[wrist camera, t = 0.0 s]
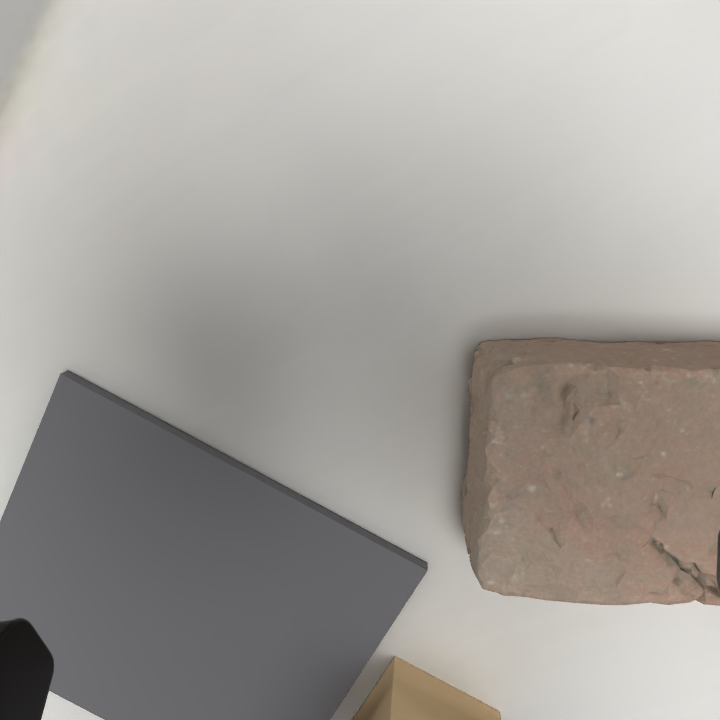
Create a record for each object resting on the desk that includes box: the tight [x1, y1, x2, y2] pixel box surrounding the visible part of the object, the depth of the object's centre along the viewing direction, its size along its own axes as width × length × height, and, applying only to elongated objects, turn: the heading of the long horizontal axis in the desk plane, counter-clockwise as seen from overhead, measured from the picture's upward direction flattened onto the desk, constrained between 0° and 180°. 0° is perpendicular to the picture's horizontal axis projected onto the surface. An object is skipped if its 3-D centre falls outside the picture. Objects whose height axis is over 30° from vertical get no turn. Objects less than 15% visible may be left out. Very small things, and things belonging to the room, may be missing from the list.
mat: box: [0, 371, 427, 720], centre depth 27 cm, size 14×16×1 cm
